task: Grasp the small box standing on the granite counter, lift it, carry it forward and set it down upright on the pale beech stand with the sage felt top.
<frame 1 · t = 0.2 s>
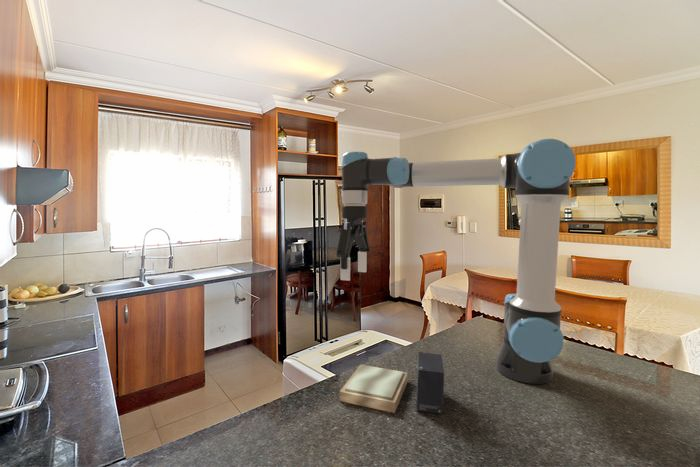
hand: (354, 275, 105), 28 cm above the counter, fingers open, 13 cm apart
stand: (375, 390, 92), on the counter
small box: (429, 402, 87), on the counter
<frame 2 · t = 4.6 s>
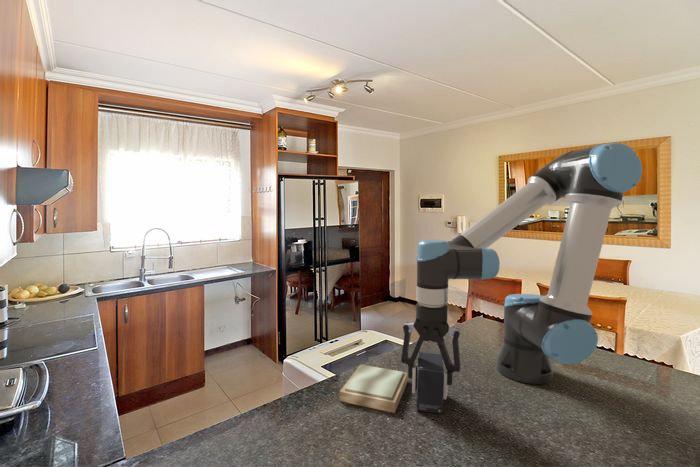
hand: (429, 393, 87), 2 cm above the counter, fingers closed on small box, 7 cm apart
small box: (429, 402, 87), on the counter, touching gripper
when the fingers open (7 cm above the counter, at t = 9.8 s): small box drops 2 cm, resting on stand.
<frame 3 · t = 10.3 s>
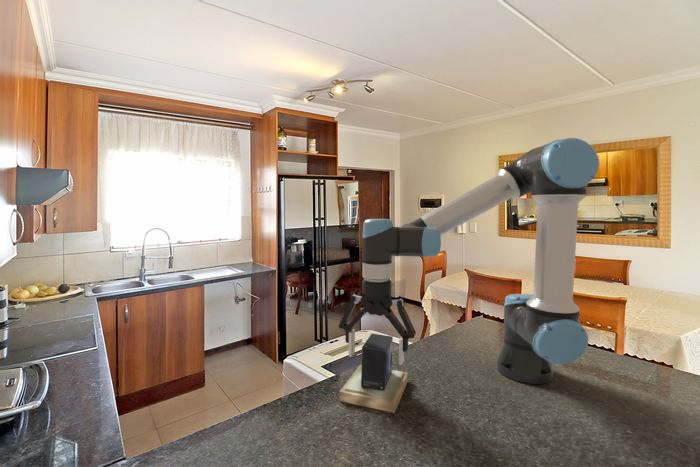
hand: (375, 358, 91), 9 cm above the counter, fingers open, 13 cm apart
small box: (377, 380, 92), point 3 cm above the counter, touching stand
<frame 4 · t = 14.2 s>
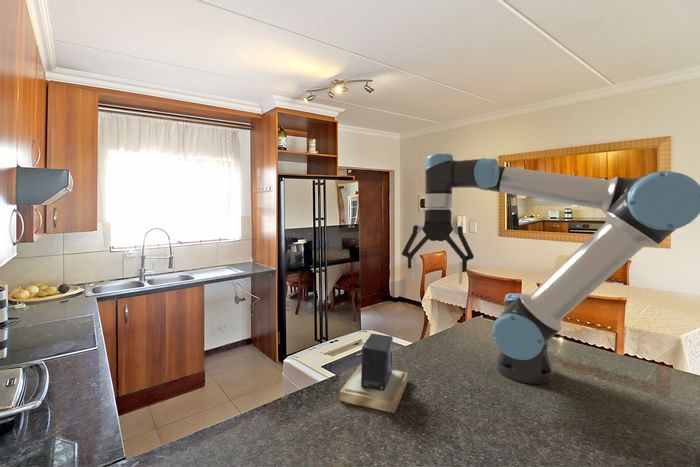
hand: (436, 281, 102), 27 cm above the counter, fingers open, 13 cm apart
nothing on the counter moved.
at the end: small box inside the target area on the stand (0.4 cm from its centre), point 2.8 cm above the stand's base; small box tilted 0°; the gripper is holding nothing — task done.
